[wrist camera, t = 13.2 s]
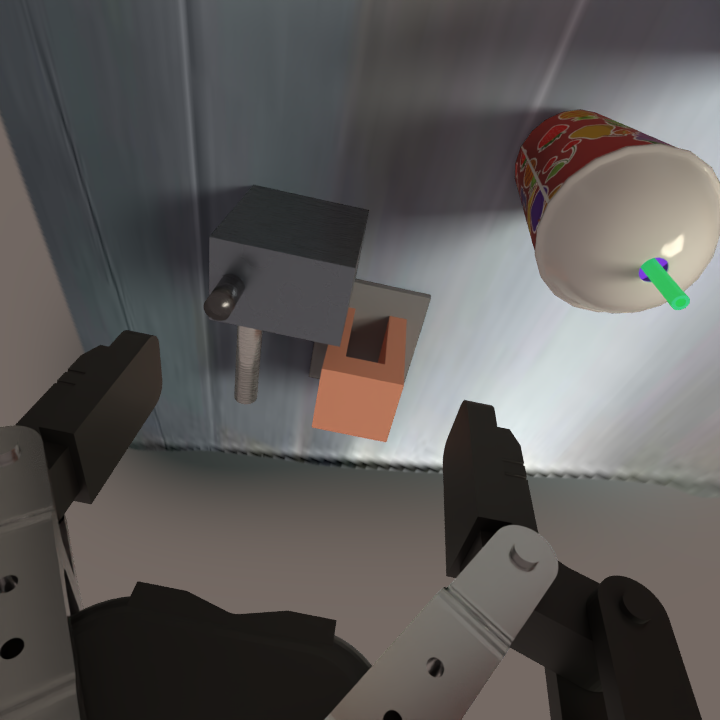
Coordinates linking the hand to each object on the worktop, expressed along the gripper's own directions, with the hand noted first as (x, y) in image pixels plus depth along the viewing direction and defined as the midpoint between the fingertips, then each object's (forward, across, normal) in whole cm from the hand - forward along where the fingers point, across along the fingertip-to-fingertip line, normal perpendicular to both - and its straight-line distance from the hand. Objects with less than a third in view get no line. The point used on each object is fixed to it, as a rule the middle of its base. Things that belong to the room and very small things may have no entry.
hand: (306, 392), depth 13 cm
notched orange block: (+27, -2, +17) cm, 32 cm away
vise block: (+28, +5, +14) cm, 31 cm away
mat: (+28, -2, +17) cm, 33 cm away
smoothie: (+28, -13, -1) cm, 31 cm away
